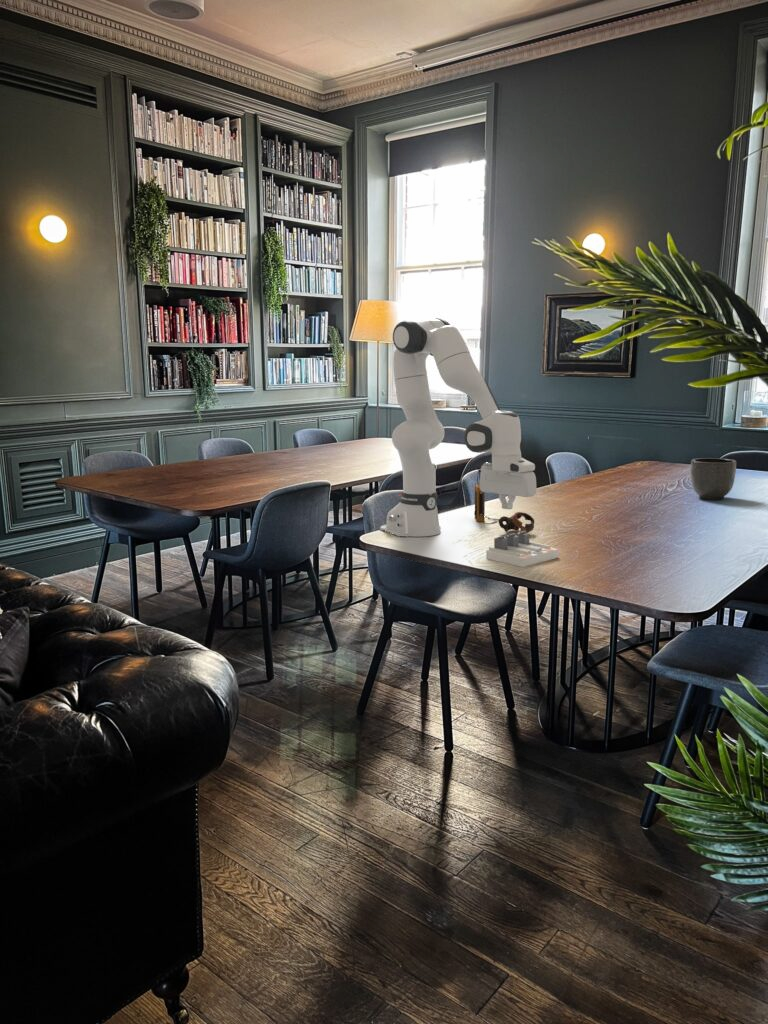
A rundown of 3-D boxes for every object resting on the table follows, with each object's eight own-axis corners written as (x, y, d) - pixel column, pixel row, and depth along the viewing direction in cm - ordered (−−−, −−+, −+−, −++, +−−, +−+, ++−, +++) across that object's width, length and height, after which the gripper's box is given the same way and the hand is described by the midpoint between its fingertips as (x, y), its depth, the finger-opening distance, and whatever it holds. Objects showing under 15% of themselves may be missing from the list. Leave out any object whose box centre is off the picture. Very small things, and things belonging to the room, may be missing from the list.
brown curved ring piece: (525, 530, 267) (534, 512, 262) (529, 548, 259) (539, 529, 255) (492, 523, 265) (501, 505, 260) (496, 540, 257) (505, 522, 252)
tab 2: (516, 543, 233) (516, 531, 233) (521, 542, 235) (521, 530, 234) (524, 545, 231) (524, 532, 230) (529, 544, 233) (529, 531, 232)
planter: (683, 495, 329) (685, 458, 326) (724, 494, 328) (726, 457, 325) (697, 502, 312) (700, 463, 309) (740, 501, 311) (743, 462, 308)
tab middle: (505, 546, 230) (505, 533, 229) (510, 545, 232) (510, 532, 231) (513, 548, 228) (513, 535, 227) (518, 547, 229) (518, 534, 229)
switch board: (486, 558, 228) (486, 547, 227) (521, 549, 238) (521, 539, 237) (523, 567, 217) (523, 555, 216) (558, 557, 227) (558, 546, 226)
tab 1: (494, 549, 227) (494, 536, 226) (499, 548, 229) (499, 535, 228) (501, 551, 225) (502, 538, 224) (507, 549, 226) (507, 536, 226)
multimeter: (506, 524, 276) (506, 469, 272) (478, 524, 276) (478, 469, 272) (499, 516, 291) (500, 463, 287) (473, 516, 290) (473, 464, 287)
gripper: (474, 463, 240) (475, 506, 242) (525, 467, 224) (526, 513, 226) (488, 461, 243) (489, 504, 246) (539, 465, 228) (539, 510, 230)
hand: (507, 508), depth 236 cm, fingers closed
